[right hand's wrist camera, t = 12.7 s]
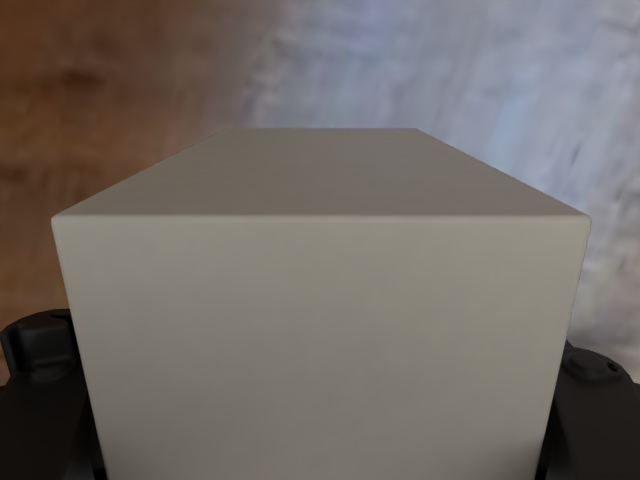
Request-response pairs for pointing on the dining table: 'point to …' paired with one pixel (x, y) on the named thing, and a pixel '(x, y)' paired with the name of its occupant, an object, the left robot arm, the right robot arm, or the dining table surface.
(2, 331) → the right robot arm
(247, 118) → the dining table surface
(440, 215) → the box
